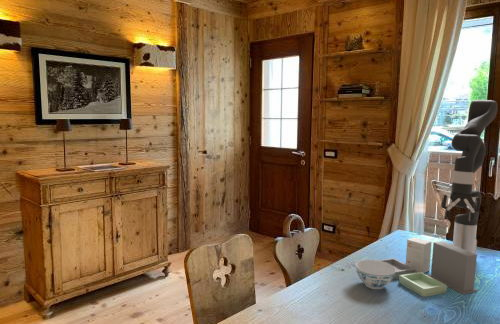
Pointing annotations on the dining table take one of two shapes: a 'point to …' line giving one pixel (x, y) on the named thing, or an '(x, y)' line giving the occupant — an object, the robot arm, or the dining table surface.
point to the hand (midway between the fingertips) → (458, 219)
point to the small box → (418, 254)
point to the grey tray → (399, 267)
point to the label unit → (454, 267)
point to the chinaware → (375, 273)
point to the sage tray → (422, 284)
